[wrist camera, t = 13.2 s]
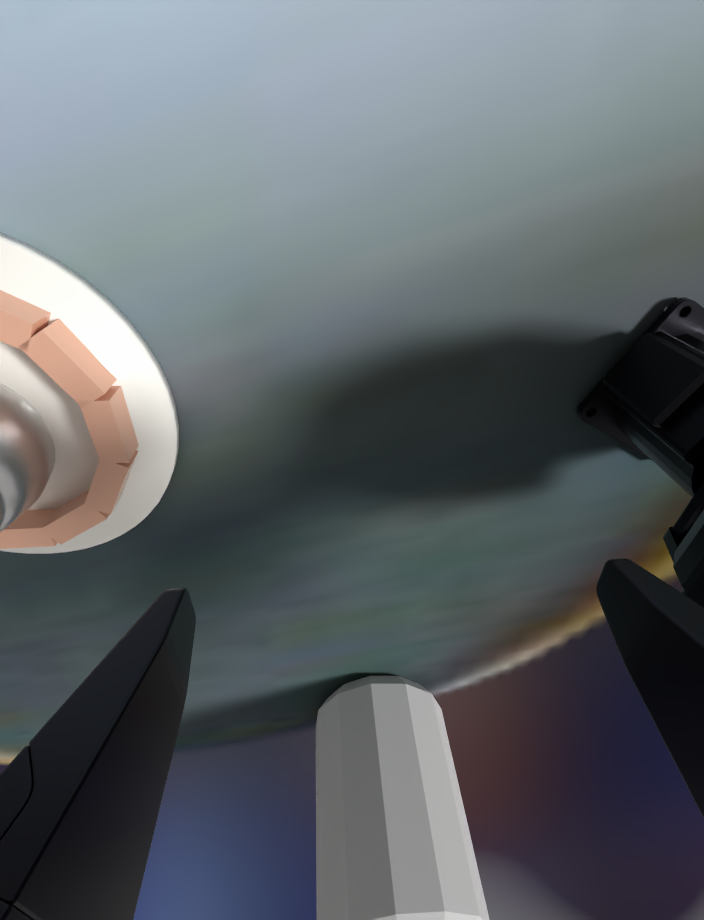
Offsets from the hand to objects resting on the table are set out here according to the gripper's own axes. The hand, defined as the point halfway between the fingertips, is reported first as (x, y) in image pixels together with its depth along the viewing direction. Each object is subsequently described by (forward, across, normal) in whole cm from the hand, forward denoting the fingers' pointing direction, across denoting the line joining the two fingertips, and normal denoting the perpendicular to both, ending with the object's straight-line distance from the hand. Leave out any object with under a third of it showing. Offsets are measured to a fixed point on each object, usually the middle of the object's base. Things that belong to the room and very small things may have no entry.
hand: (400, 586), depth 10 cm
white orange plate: (+13, +16, +2) cm, 21 cm away
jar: (+13, -1, +29) cm, 32 cm away
